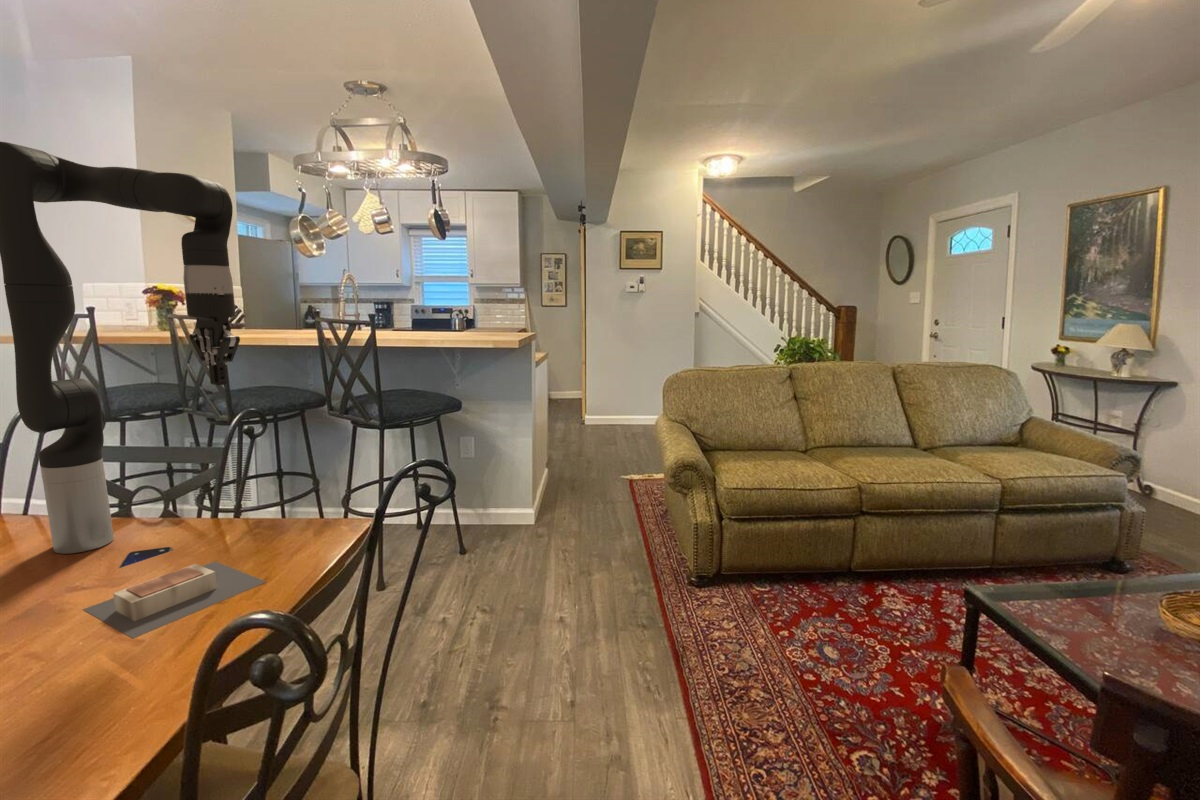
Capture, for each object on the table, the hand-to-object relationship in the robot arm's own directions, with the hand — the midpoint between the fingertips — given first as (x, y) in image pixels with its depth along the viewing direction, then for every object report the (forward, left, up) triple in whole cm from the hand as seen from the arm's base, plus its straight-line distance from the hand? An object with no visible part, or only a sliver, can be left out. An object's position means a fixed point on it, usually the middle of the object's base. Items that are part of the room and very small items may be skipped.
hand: (219, 384), depth 113 cm
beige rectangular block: (+12, -12, -31) cm, 35 cm away
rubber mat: (+12, -16, -33) cm, 39 cm away
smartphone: (-7, -13, -34) cm, 37 cm away
